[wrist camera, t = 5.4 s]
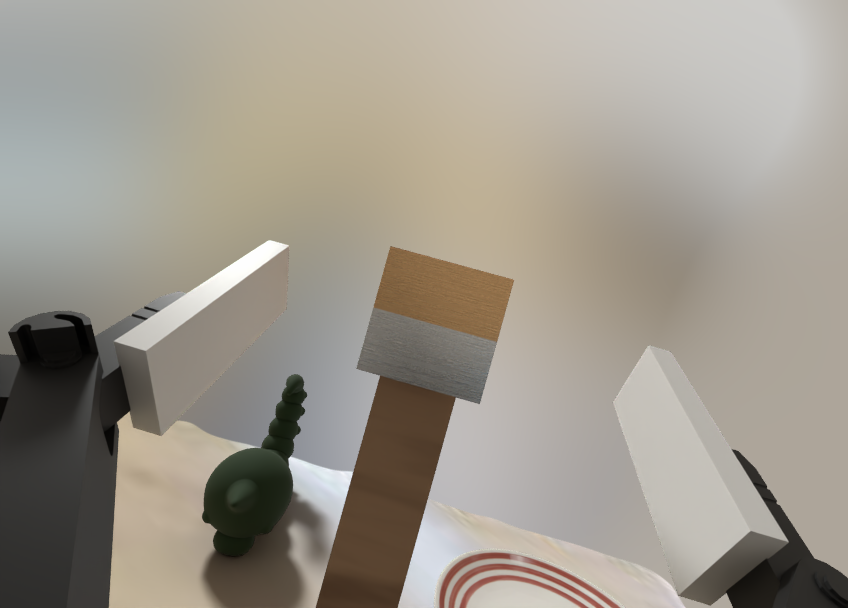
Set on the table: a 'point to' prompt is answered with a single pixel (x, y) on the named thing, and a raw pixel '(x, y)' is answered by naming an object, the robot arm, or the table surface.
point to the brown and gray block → (435, 324)
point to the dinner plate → (514, 583)
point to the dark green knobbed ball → (255, 480)
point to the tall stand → (386, 497)
